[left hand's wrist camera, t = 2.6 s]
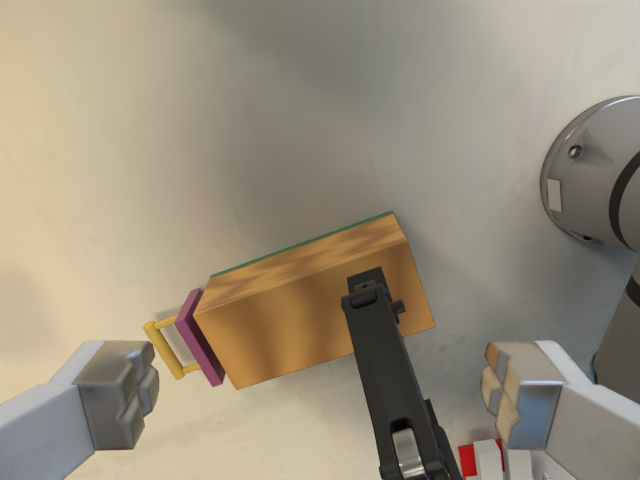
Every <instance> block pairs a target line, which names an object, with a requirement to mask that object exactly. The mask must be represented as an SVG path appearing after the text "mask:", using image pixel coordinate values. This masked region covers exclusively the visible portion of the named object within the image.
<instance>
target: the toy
mask: <svg viewBox="0 0 640 480" xmlns="http://www.w3.org/2000/svg"><path fill="white" fill-rule="evenodd" d="M458 448H459V454H460V460H461V466H462V472H463V478H464V479H465V480H535V479H534V477H533V476H532V464H531V453H530V450H507V449H506V447H505V445H504V443H503V441H502V440H498V441H495V440H494V439H489V440H482V441H476V442H473V445H469V446H463V447H458ZM543 480H552V479H551V477H550V476H549V474H548V472H543Z"/></svg>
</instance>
